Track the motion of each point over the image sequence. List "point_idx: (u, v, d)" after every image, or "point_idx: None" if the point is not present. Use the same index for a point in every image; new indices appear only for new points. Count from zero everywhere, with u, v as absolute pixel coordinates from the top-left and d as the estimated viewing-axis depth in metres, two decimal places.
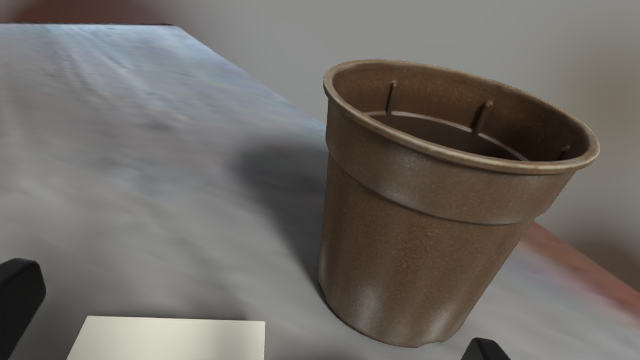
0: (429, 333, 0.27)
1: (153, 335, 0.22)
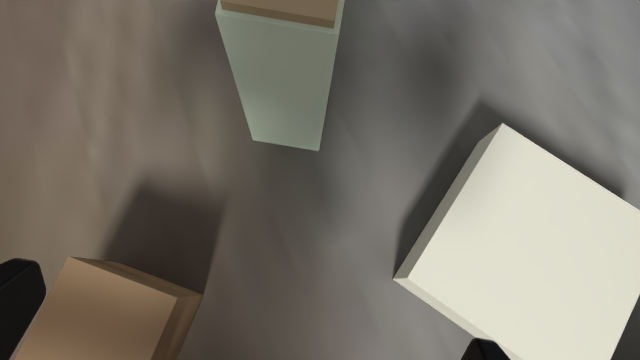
0: None
1: (555, 179, 0.21)
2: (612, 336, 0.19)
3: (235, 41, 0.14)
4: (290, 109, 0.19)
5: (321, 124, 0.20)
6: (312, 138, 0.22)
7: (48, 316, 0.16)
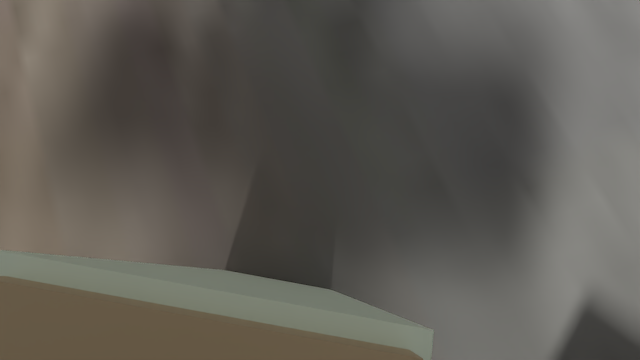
0: None
1: None
2: None
3: None
4: None
5: None
6: None
7: None
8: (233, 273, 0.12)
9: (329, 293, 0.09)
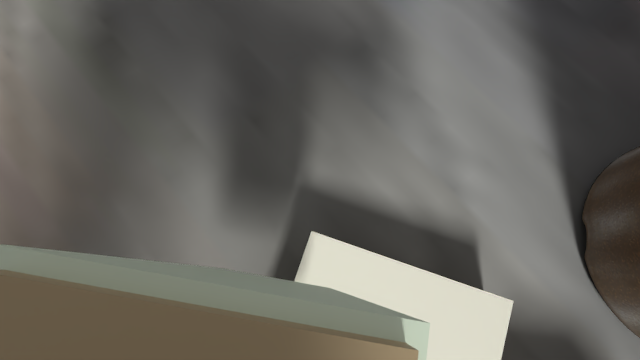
0: None
1: (381, 281, 0.19)
2: None
3: None
4: None
5: None
6: None
7: None
8: (232, 271, 0.12)
9: None
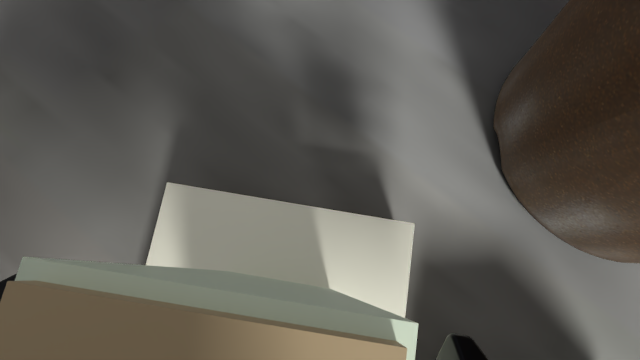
0: None
1: (256, 226, 0.16)
2: None
3: None
4: None
5: None
6: None
7: None
8: (235, 274, 0.12)
9: (327, 292, 0.10)
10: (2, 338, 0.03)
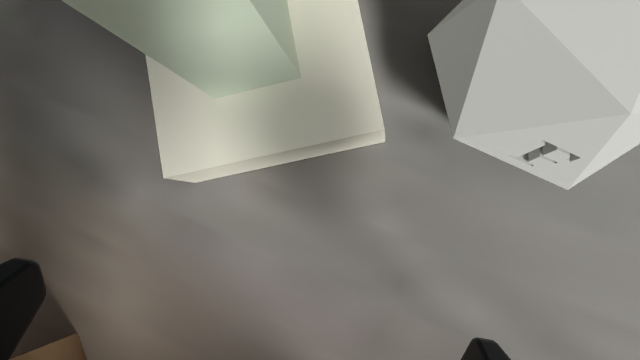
0: None
1: None
2: (359, 53, 0.17)
3: None
4: (212, 34, 0.12)
5: (271, 37, 0.13)
6: (279, 63, 0.15)
7: None
8: None
9: None
10: None
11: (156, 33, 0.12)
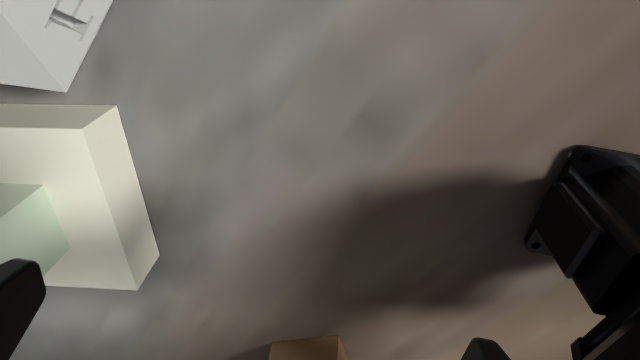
0: None
1: None
2: (13, 134, 0.18)
3: None
4: None
5: None
6: (18, 215, 0.18)
7: None
8: None
9: None
10: None
11: None
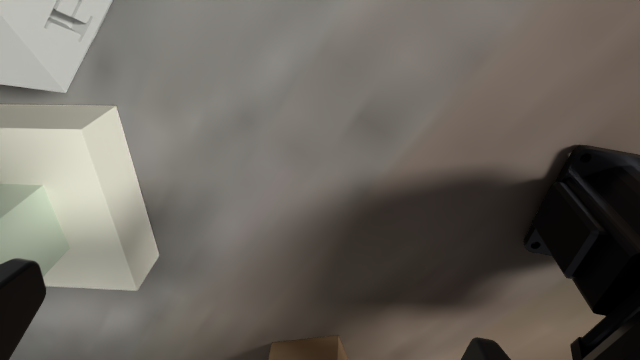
0: None
1: None
2: (12, 135, 0.18)
3: None
4: None
5: None
6: (17, 215, 0.18)
7: None
8: None
9: None
10: None
11: None
